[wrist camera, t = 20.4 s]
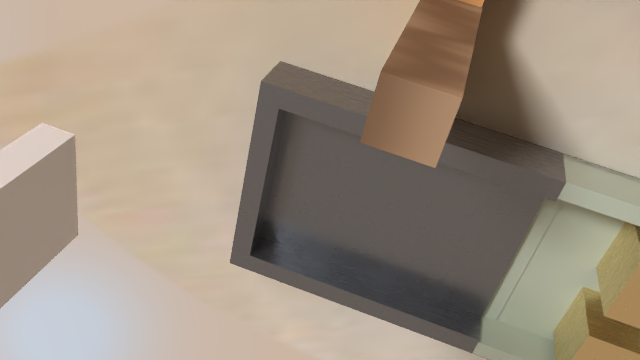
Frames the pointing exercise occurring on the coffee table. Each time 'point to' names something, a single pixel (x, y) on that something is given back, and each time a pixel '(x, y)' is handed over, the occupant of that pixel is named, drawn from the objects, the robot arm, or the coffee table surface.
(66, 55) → the coffee table surface
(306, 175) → the dark grey shallow tray
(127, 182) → the coffee table surface
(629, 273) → the light brown cube
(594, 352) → the tan cube
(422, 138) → the bent wooden stick
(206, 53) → the coffee table surface
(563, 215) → the tray
